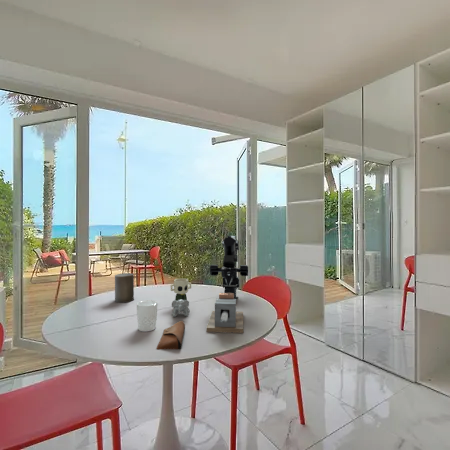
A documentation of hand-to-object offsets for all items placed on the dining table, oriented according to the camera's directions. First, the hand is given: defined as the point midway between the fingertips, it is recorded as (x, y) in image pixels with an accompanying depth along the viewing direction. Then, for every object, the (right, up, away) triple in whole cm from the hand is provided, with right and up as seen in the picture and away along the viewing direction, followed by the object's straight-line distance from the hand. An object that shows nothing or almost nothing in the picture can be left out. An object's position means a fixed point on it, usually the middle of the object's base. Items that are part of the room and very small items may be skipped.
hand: (228, 285), depth 132 cm
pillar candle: (-56, -12, +19) cm, 60 cm away
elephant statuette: (-21, -12, -7) cm, 25 cm away
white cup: (-32, -12, -22) cm, 41 cm away
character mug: (-24, -12, +9) cm, 28 cm away
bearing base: (-1, -12, -15) cm, 19 cm away
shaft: (-1, -10, -22) cm, 24 cm away
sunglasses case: (-21, -13, -31) cm, 40 cm away
